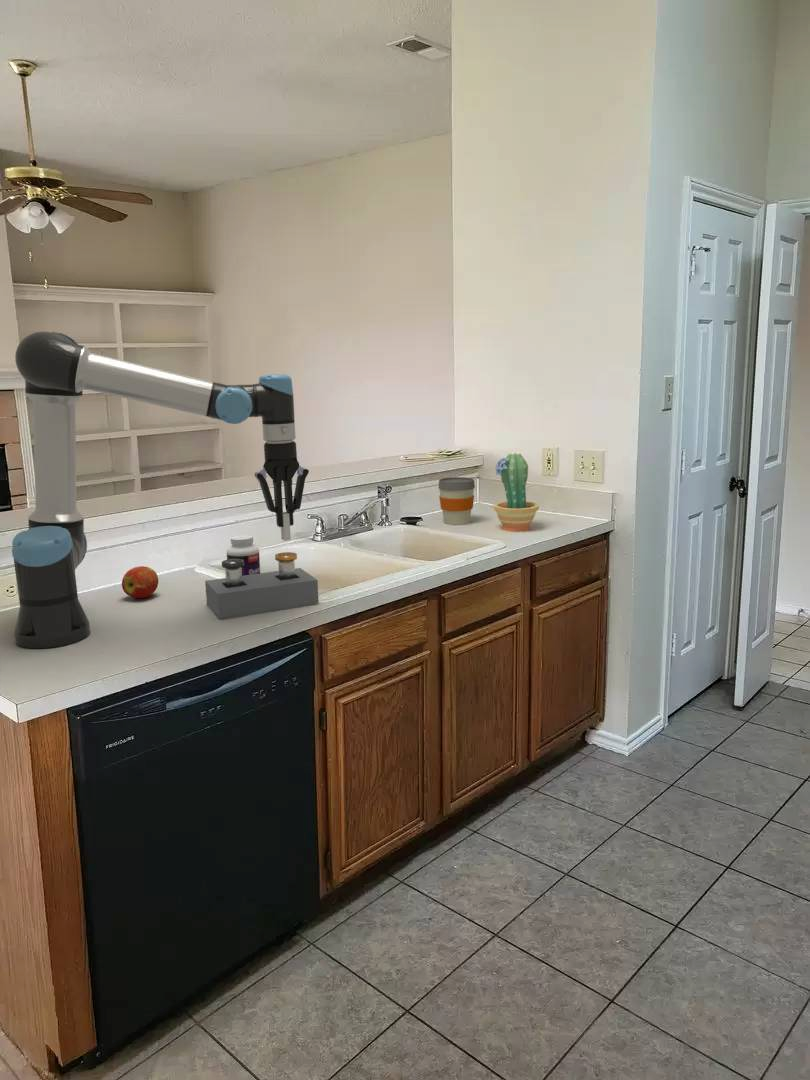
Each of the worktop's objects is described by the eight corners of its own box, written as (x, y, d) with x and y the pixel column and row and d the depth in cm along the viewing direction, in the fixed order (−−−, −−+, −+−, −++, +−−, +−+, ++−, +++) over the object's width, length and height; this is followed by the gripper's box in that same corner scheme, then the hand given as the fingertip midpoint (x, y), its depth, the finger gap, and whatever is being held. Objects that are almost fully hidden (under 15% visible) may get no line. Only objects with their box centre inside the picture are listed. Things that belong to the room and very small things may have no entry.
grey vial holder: (219, 619, 193) (217, 594, 191) (206, 604, 204) (205, 580, 203) (318, 603, 203) (317, 579, 201) (301, 590, 214) (300, 567, 213)
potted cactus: (499, 522, 291) (499, 450, 286) (543, 525, 286) (544, 451, 280) (487, 532, 277) (487, 456, 271) (533, 534, 272) (534, 457, 266)
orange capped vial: (280, 588, 202) (278, 558, 200) (274, 583, 206) (272, 553, 205) (301, 585, 204) (299, 555, 202) (294, 580, 209) (292, 551, 207)
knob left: (226, 596, 196) (224, 565, 195) (221, 590, 201) (219, 560, 199) (248, 593, 199) (246, 562, 197) (242, 587, 203) (240, 557, 201)
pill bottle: (254, 597, 209) (251, 541, 206) (224, 596, 210) (220, 540, 207) (266, 588, 217) (262, 534, 213) (236, 587, 218) (233, 533, 215)
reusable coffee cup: (477, 519, 298) (477, 477, 294) (471, 526, 286) (471, 483, 282) (442, 518, 301) (442, 476, 297) (435, 525, 289) (434, 482, 285)
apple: (118, 600, 210) (115, 569, 208) (142, 591, 217) (139, 561, 215) (142, 603, 206) (139, 572, 204) (166, 594, 214) (163, 564, 212)
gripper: (257, 445, 191) (264, 545, 197) (311, 440, 197) (317, 539, 202) (248, 442, 198) (255, 539, 203) (301, 438, 203) (306, 533, 209)
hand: (286, 539), depth 203 cm, fingers closed
